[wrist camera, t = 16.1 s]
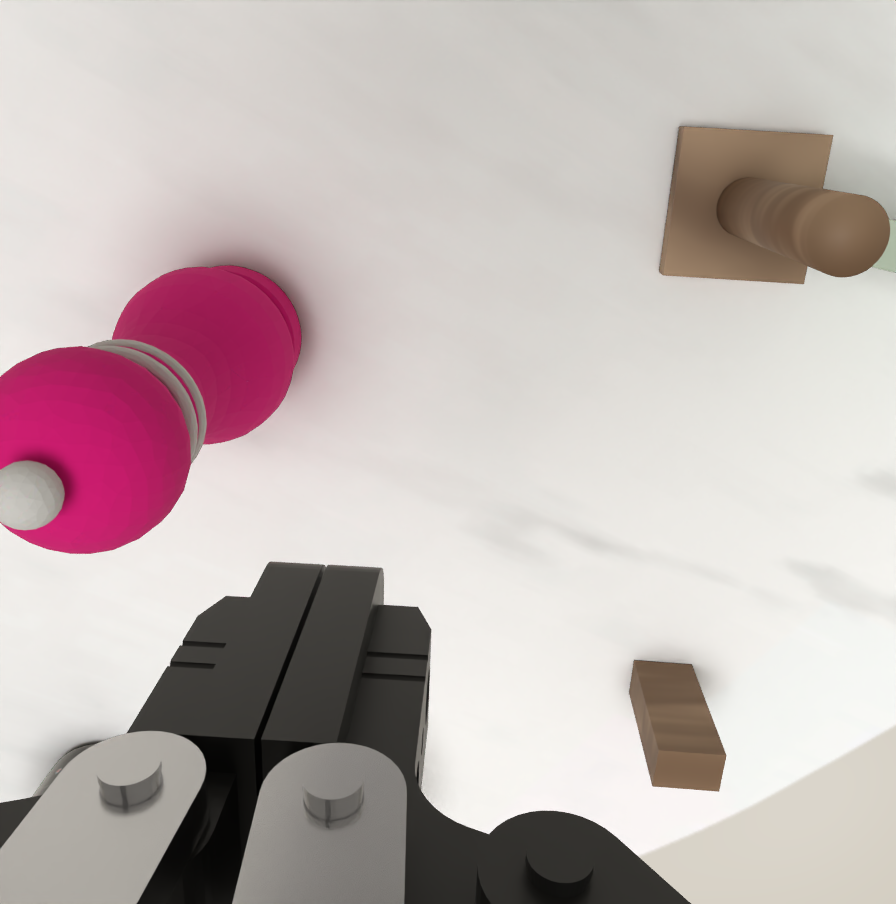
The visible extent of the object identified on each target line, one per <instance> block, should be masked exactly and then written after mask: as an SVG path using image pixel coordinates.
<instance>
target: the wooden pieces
mask: <svg viewBox="0 0 896 904" xmlns="http://www.w3.org/2000/svg"><path fill="white" fill-rule="evenodd" d="M832 139H833V135H822V134H805V133H788V132H771V131H753V130H736V129H719V128H702V127H685V126H684V127H679V132H678V140H677V147H676V154H675V161H674V168H673V175H672V183H671V190H670V197H669V204H668V211H667V219H666V226H665V233H664V240H663V247H662V254H661V262H660V269H659V272H660V273H661V274H662V275H667V276H683V277H699V278H715V279H731V280H747V281H763V282H779V283H795V284H804V280H805V275H806V270H807V266H809V267H811V268H814V269H816V270H818V271H821V272H823V273H826V274H828V275H831V276H835V277H850V276H854V275H857V274H860V273H862V272H864V271H866V270H867V269H869V268H870V267H872V266H873V265H874V264H875V263H876V262H877V261H878V260H879V259H880V257H881V256H882V255H883V253H884V251H885V249H886V247H887V245H888V241H889V237H890V222H889V218H888V216H887V213H886V212H885V210H884V208H883V207H882V206H881V205H880V204H879V203H878V202H877V201H875V200H873V199H872V198H869V197H867V196H863V195H857V194H851V193H845V192H839V191H833V190H827V189H823V185H824V180H825V175H826V170H827V164H828V159H829V154H830V149H831V144H832ZM629 694H630V698H631V702H632V706H633V710H634V714H635V718H636V722H637V726H638V730H639V734H640V738H641V742H642V746H643V750H644V754H645V758H646V762H647V766H648V770H649V774H650V778H651V782H652V786H655V787H668V788H681V789H694V790H707V791H719V789H720V784H721V779H722V774H723V769H724V764H725V760H726V753H725V751H724V748H723V745H722V743H721V740H720V737H719V735H718V732H717V730H716V727H715V724H714V722H713V719H712V716H711V714H710V711H709V708H708V706H707V703H706V701H705V698H704V695H703V693H702V690H701V687H700V685H699V682H698V680H697V677H696V674H695V672H694V669H693V666H692V665H690V664H677V663H663V662H650V661H636V660H634V664H633V671H632V677H631V684H630V690H629Z"/></svg>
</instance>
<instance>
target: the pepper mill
mask: <svg viewBox="0 0 896 904" xmlns="http://www.w3.org/2000/svg"><path fill="white" fill-rule="evenodd" d="M300 348H301V329H300V324H299V320H298V316H297V314H296V311H295V309H294V307H293V305H292V303H291V301H290V300H289V298H288V297H287V296H286V294H285V293H284V292H283V291H282V290H281V289H280V288H279V287H278V286H277V285H276V284H275V283H274V282H273V281H271V280H270V279H269V278H267V277H266V276H264V275H262V274H260V273H258V272H256V271H253V270H250V269H247V268H244V267H238V266H231V265H229V266H216V267H212V268H207V267H192V268H184V269H179V270H174V271H172V272H169V273H167V274H164V275H162V276H160V277H159V278H157V279H155V280H154V281H152V282H151V283H149V284H148V285H147V286H145V287H144V288H143V289H141V290H140V291H138V292H137V293H136V294H135V296H134V297H133V298H132V299H131V300H130V301H129V302H128V304H127V305H126V307H125V308H124V310H123V312H122V313H121V316H120V318H119V320H118V322H117V325H116V328H115V330H114V333H113V337H112V340H106V341H102V342H98V343H95V344H93V345H91V346H88V347H82V346H78V347H66V348H56V349H52V350H48V351H44V352H41V353H39V354H37V355H34V356H32V357H30V358H28V359H26V360H24V361H22V362H20V363H17V364H16V365H15V366H13V367H12V368H11V369H9V370H8V371H7V372H6V373H4V374H3V375H2V376H1V377H0V523H1V524H2V525H4V526H5V527H6V528H7V529H8V530H9V531H11V532H12V533H14V534H16V535H17V536H19V537H21V538H23V539H24V540H26V541H28V542H29V543H32V544H35V545H38V546H40V547H43V548H46V549H49V550H54V551H60V552H65V553H70V554H91V553H97V552H104V551H110V550H114V549H116V548H119V547H121V546H123V545H125V544H128V543H130V542H132V541H135V540H137V539H139V538H140V537H142V536H143V535H144V534H146V533H147V532H148V531H150V530H151V529H152V528H154V527H155V526H156V525H158V524H159V523H160V522H161V521H162V520H163V519H164V518H165V517H166V516H167V515H168V514H169V513H170V512H171V510H172V508H173V507H174V505H175V504H176V502H177V500H178V499H179V497H180V496H181V494H182V492H183V491H184V488H185V484H186V480H187V476H188V473H189V469H190V465H191V463H192V462H193V461H194V459H195V458H196V457H197V455H198V453H199V451H200V449H201V447H202V445H203V444H214V443H221V442H225V441H229V440H232V439H235V438H238V437H241V436H243V435H246V434H247V433H249V432H250V431H252V430H253V429H255V428H256V427H258V426H259V425H261V424H262V423H263V422H264V421H265V420H266V419H268V418H269V417H270V416H271V414H272V413H273V412H274V411H275V410H276V409H277V408H278V407H279V405H280V404H281V402H282V400H283V399H284V397H285V395H286V393H287V390H288V388H289V385H290V382H291V378H292V373H293V369H294V367H295V365H296V363H297V360H298V357H299V354H300Z"/></svg>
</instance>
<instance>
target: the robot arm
mask: <svg viewBox="0 0 896 904" xmlns="http://www.w3.org/2000/svg"><path fill="white" fill-rule="evenodd" d="M430 652H431V628H430V627H429V625H428V623H427V622H426V620H425V618H424V616H423V615H422V613H421V611H420V610H419V608H418V607H408V606H391V605H384V576H383V569H382V568H376V567H358V566H341V565H328V566H327V567H325V565H320V564H302V563H285V562H269V563H268V564H267V566H266V568H265V570H264V572H263V574H262V576H261V578H260V579H259V581H258V583H257V585H256V587H255V589H254V591H253V593H252V595H251V597H233V596H225V597H224V598H223V599H221V600H220V601H218V602H217V603H216V604H214V605H213V606H211V607H210V608H209V609H207V610H206V611H204V612H203V613H201V614H200V615H199V616H197V618H196V620H195V621H194V623H193V625H192V626H191V628H190V630H189V631H188V633H187V635H186V636H185V638H184V640H183V645H182V646H179V648H178V650H177V651H176V653H175V654H174V656H173V658H172V659H171V663H170V667H169V666H167V668H166V669H165V671H164V673H163V674H162V676H161V678H160V679H159V681H158V683H157V684H156V686H155V688H154V689H153V691H152V693H151V694H150V696H149V697H148V699H147V701H146V702H145V704H144V706H143V707H142V709H141V711H140V712H139V714H138V716H137V717H136V719H135V721H134V722H133V724H132V726H131V727H130V729H129V731H128V732H127V734H123V735H119V736H115V737H112V738H109V739H107V740H104V741H101V742H99V743H97V744H95V745H93V746H91V747H89V748H88V749H86V750H85V751H83V752H81V753H80V754H78V755H77V756H76V757H75V758H74V759H72V760H71V761H70V762H69V763H68V764H67V765H66V766H65V767H64V769H63V770H62V771H61V772H60V773H59V775H58V776H57V777H56V778H55V780H54V781H53V782H52V784H51V785H50V786H49V787H48V789H47V790H46V791H45V793H44V794H43V795H40V796H35V797H31V798H26V799H20V800H14V801H9V802H3V803H0V904H691V903H690V902H688V901H687V900H686V899H685V898H684V897H683V896H682V895H681V894H679V893H678V892H677V891H676V890H675V889H674V888H673V887H671V886H670V885H669V884H668V883H667V882H666V881H665V880H664V879H662V878H661V877H660V876H659V875H658V874H657V873H656V872H655V871H654V870H653V869H651V868H650V867H649V866H648V865H647V864H646V863H645V862H644V861H642V860H641V859H640V858H639V857H638V856H637V855H636V854H635V853H633V852H632V851H631V850H630V849H629V848H628V847H627V846H626V845H625V844H623V843H622V842H621V841H620V840H619V839H618V838H617V837H616V836H614V835H613V834H612V833H610V832H609V831H608V830H606V829H605V828H603V827H602V826H600V825H598V824H597V823H595V822H593V821H590V820H588V819H586V818H583V817H581V816H577V815H574V814H570V813H565V812H558V811H536V812H529V813H525V814H521V815H517V816H515V817H513V818H510V819H508V820H506V821H505V822H503V823H502V824H500V825H499V826H497V827H496V828H495V829H494V830H493V831H492V832H491V833H490V834H486V833H483V832H480V831H478V830H475V829H472V828H469V827H466V826H464V825H462V824H459V823H457V822H455V821H453V820H451V819H450V818H448V817H446V816H445V815H443V814H442V813H441V812H439V811H438V810H437V809H435V808H434V807H433V806H432V804H431V803H430V802H429V801H428V800H427V799H426V798H425V796H424V795H423V793H422V792H421V785H422V776H423V766H424V755H425V748H426V738H427V729H428V707H429V680H430Z"/></svg>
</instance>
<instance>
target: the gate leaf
mask: <svg viewBox="0 0 896 904" xmlns="http://www.w3.org/2000/svg"><path fill="white" fill-rule="evenodd" d="M889 222H890V237H889V241H888V245H887V247H886V249H885V251H884V253H883V255H882V256H881V257H880V259H879V260H878V261H877V262H876V263H875V264H874V265H873V266H872V267H874V268H878V269H882V270H886V271H890V272H894V273H896V221H894V220H890V219H889Z"/></svg>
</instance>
